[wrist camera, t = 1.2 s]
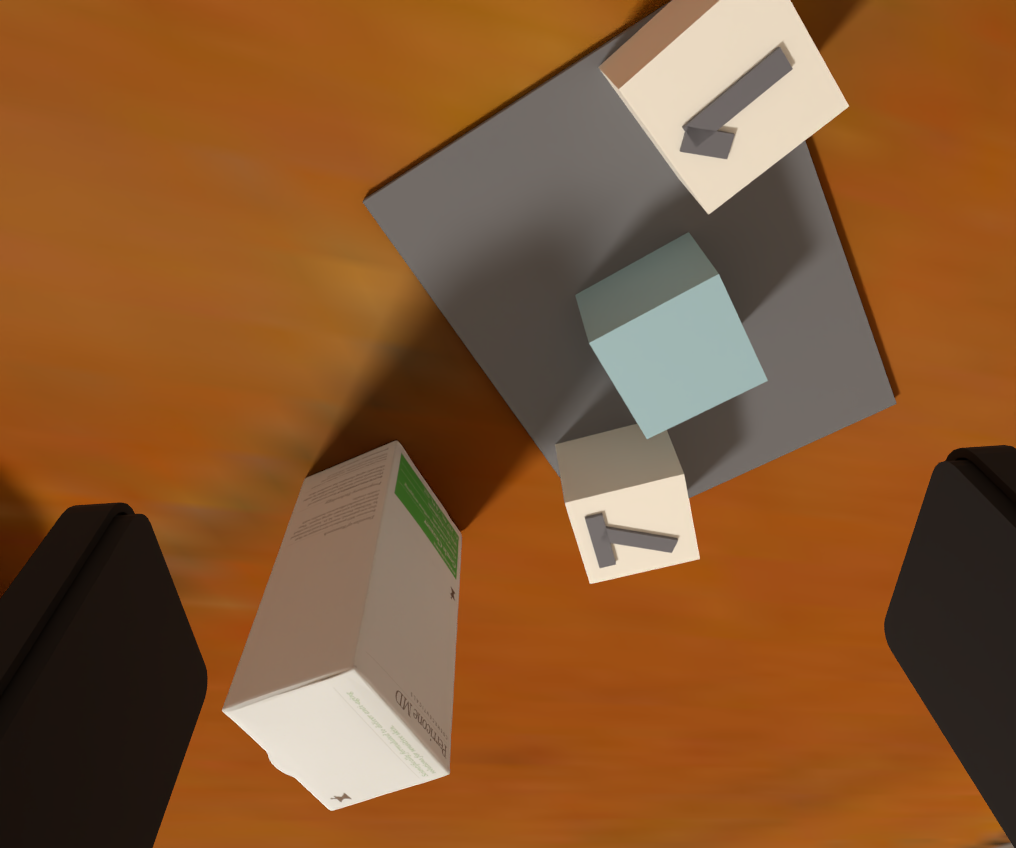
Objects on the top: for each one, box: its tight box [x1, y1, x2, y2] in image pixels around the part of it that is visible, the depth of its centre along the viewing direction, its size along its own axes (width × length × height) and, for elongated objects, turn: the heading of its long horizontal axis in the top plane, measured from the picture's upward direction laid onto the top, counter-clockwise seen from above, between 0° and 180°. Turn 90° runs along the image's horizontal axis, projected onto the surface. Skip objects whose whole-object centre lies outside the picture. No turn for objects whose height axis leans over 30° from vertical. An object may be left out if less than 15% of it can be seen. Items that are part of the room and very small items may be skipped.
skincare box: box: [222, 440, 462, 811], centre depth 37 cm, size 8×7×16 cm
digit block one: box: [598, 0, 849, 215], centre depth 28 cm, size 6×6×5 cm
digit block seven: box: [555, 424, 700, 584], centre depth 40 cm, size 6×6×5 cm
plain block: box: [575, 232, 768, 439], centre depth 34 cm, size 6×6×5 cm
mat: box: [363, 0, 896, 498], centre depth 37 cm, size 18×24×1 cm
